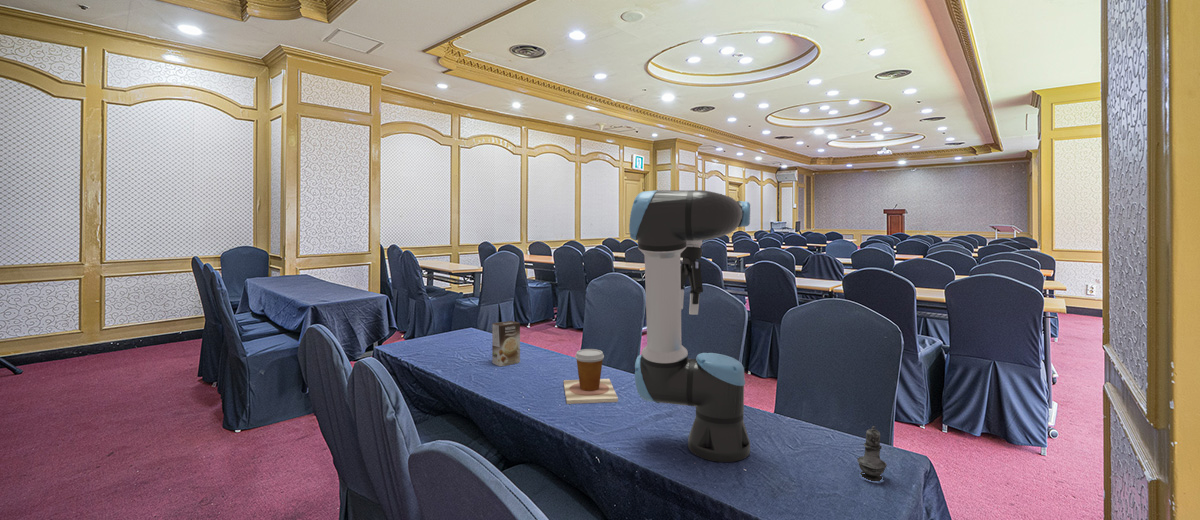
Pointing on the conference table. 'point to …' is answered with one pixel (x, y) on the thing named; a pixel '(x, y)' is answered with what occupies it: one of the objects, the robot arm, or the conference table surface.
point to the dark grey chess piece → (872, 457)
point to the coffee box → (505, 343)
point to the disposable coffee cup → (589, 368)
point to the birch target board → (589, 393)
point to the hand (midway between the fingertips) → (685, 311)
